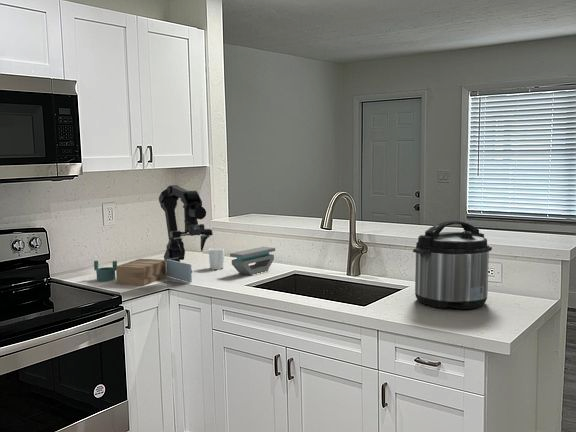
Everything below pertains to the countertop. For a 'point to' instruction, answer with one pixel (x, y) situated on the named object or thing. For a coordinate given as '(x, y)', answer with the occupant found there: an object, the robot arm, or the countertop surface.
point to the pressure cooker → (452, 267)
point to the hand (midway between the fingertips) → (191, 251)
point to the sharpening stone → (253, 260)
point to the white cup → (216, 258)
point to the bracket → (105, 272)
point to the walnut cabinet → (141, 272)
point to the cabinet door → (178, 270)
